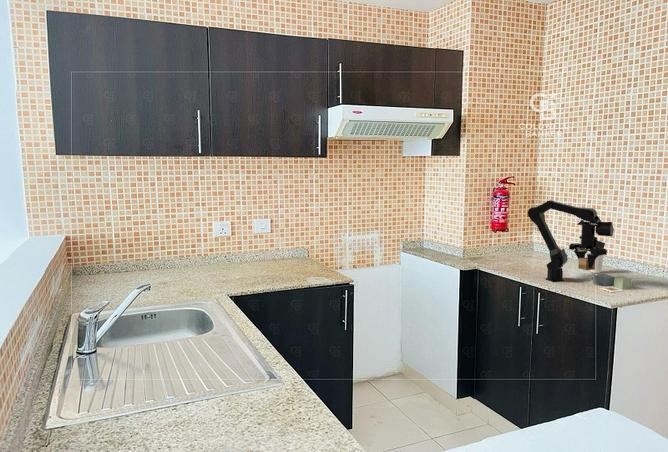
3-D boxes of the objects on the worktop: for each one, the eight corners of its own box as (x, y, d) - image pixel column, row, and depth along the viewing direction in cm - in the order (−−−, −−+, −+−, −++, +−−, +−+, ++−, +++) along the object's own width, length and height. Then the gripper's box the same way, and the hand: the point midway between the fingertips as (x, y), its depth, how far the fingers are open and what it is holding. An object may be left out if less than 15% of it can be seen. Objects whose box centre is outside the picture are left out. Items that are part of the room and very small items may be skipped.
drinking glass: (598, 270, 271) (599, 243, 269) (605, 273, 264) (607, 245, 262) (586, 271, 271) (587, 243, 269) (592, 273, 264) (594, 246, 262)
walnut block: (585, 270, 238) (586, 260, 238) (578, 268, 243) (578, 258, 242) (594, 269, 240) (595, 259, 239) (587, 267, 244) (587, 257, 244)
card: (611, 292, 228) (611, 291, 228) (599, 288, 234) (599, 287, 234) (623, 291, 229) (623, 290, 229) (611, 287, 236) (611, 286, 236)
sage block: (622, 289, 233) (622, 279, 232) (613, 286, 238) (614, 276, 237) (631, 288, 234) (631, 278, 233) (622, 286, 239) (623, 275, 238)
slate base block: (604, 286, 240) (605, 278, 239) (592, 283, 246) (593, 275, 246) (615, 284, 242) (616, 276, 241) (603, 281, 248) (603, 273, 248)
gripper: (617, 236, 232) (615, 269, 234) (587, 231, 250) (586, 261, 252) (597, 237, 229) (595, 271, 231) (568, 232, 247) (567, 263, 249)
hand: (586, 266), depth 241 cm, fingers closed on walnut block, 5 cm apart
